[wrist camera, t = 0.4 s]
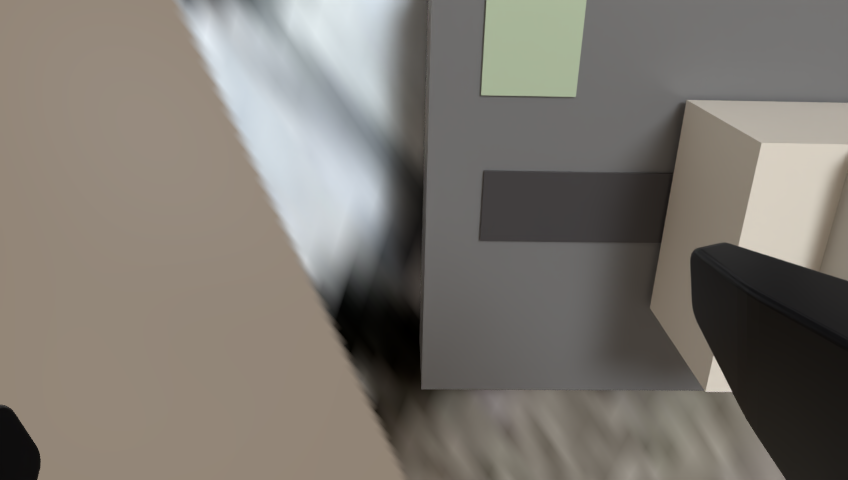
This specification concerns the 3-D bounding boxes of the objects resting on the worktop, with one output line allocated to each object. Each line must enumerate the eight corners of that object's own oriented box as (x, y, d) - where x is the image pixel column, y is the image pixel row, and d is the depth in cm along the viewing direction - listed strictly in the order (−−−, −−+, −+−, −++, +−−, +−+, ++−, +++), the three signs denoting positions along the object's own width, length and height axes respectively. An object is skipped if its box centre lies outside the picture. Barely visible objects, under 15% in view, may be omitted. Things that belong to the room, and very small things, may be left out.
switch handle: (820, 309, 20) (943, 419, 15) (649, 307, 20) (723, 419, 15) (879, 103, 18) (1047, 161, 13) (686, 99, 17) (786, 157, 13)
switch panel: (928, 340, 24) (998, 393, 22) (419, 336, 24) (421, 391, 21) (1063, -23, 20) (1176, -17, 17) (428, -39, 19) (432, -35, 16)
